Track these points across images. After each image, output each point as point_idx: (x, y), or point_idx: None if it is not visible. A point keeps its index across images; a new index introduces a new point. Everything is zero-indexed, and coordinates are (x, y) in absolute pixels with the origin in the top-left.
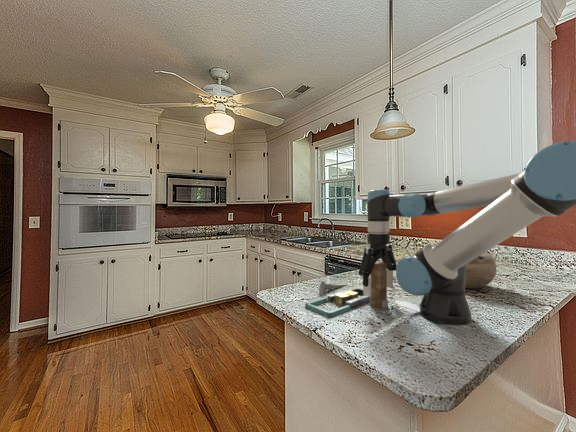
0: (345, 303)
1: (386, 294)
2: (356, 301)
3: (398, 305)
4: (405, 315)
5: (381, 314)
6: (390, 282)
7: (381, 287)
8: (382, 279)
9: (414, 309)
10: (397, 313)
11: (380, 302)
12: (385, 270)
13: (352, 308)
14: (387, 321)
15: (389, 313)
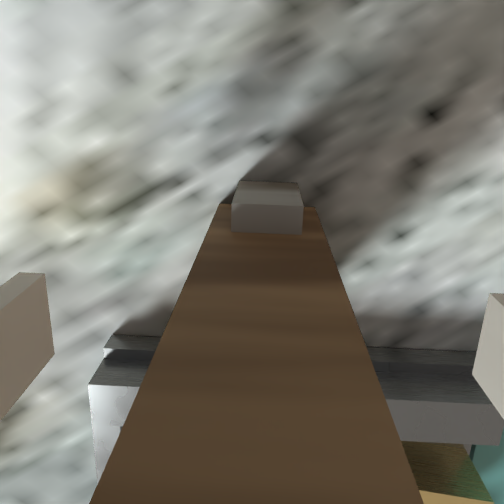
0: (429, 449)
1: (206, 245)
2: (414, 397)
3: (51, 186)
4: (214, 20)
5: (346, 178)
6: (9, 325)
7: (317, 292)
8: (297, 351)
9: (16, 35)
10: (225, 96)
11: (321, 231)
12: (162, 463)
13: (468, 367)
14: (452, 63)
15: (277, 144)
